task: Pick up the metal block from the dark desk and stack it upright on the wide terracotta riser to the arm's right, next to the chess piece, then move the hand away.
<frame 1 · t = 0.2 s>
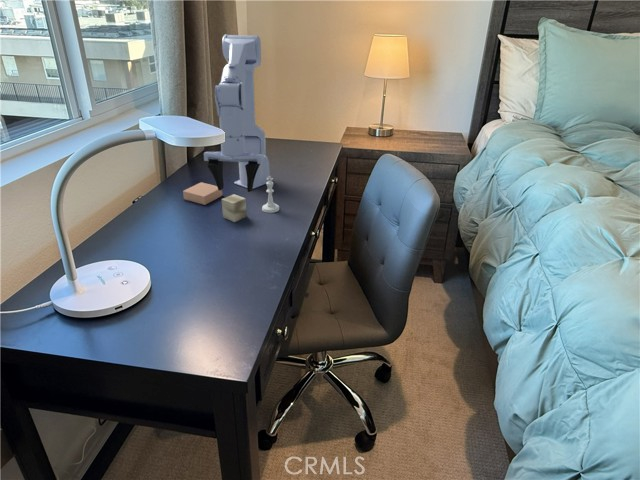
hand: (235, 190, 113), 10 cm above the table, tool pointing down, fingers open, 7 cm apart
terracotta riser: (203, 198, 134), on the table
metal block: (235, 217, 123), on the table
chess piece: (270, 209, 127), on the table
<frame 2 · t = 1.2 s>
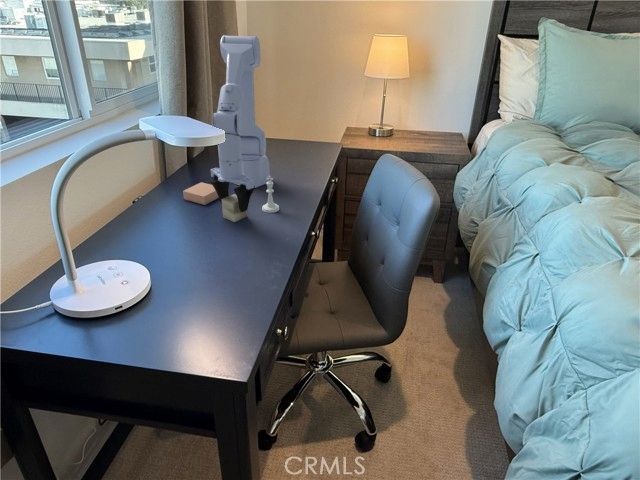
hand: (234, 206, 121), 3 cm above the table, tool pointing down, fingers open, 7 cm apart
nothing on the table moved.
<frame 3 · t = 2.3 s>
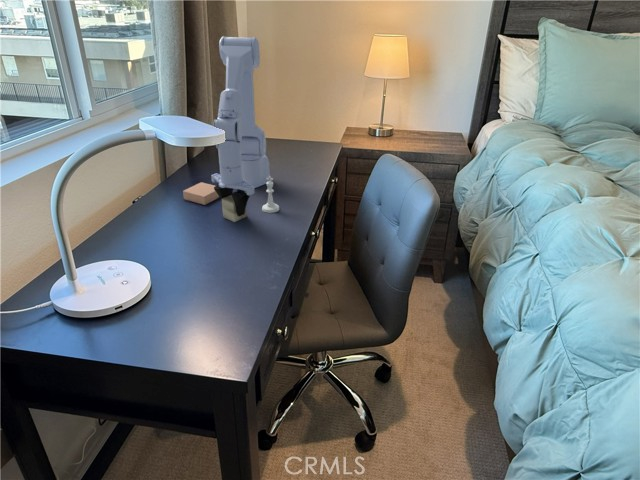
hand: (234, 212, 122), 1 cm above the table, tool pointing down, fingers closed on metal block, 4 cm apart
metal block: (234, 216, 122), on the table, touching gripper
everything else where it was.
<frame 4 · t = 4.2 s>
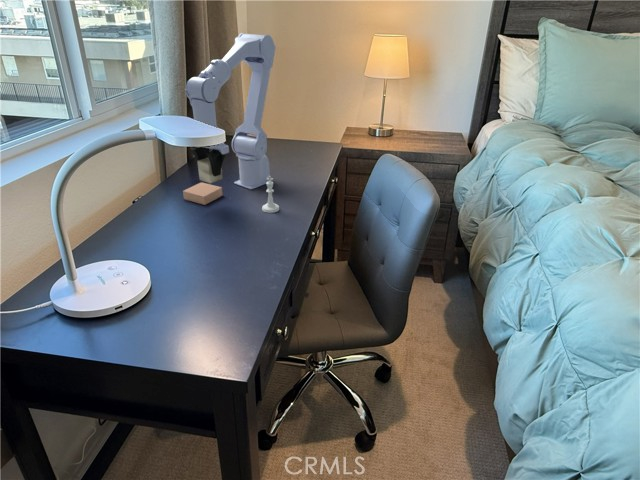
hand: (210, 173, 125), 9 cm above the table, tool pointing down, fingers closed on metal block, 4 cm apart
metal block: (211, 179, 126), point 8 cm above the table, touching gripper
everything else where it was.
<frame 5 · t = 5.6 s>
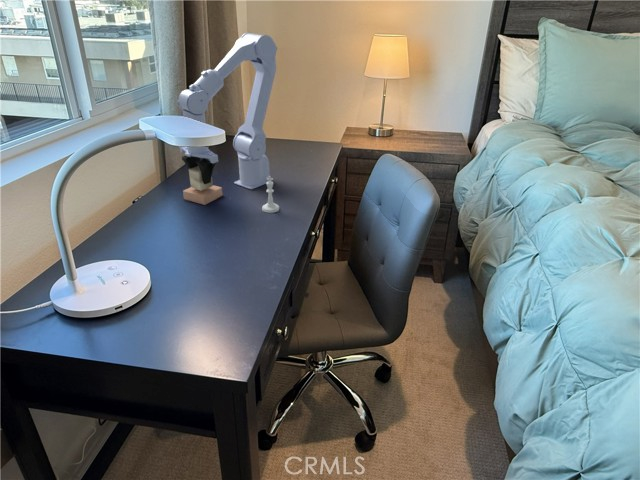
hand: (201, 180, 131), 5 cm above the table, tool pointing down, fingers closed on metal block, 4 cm apart
metal block: (201, 186, 132), point 3 cm above the table, touching gripper
everything else where it was.
when the fingers open (5 cm above the table, at t = 6.3 s): metal block stays where it is, point 3 cm above the table.
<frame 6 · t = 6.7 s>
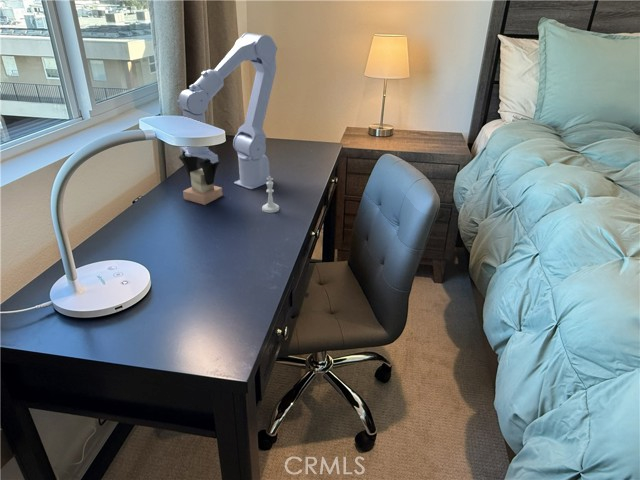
hand: (201, 180, 131), 5 cm above the table, tool pointing down, fingers open, 7 cm apart
metal block: (203, 189, 132), point 3 cm above the table
everything else where it was.
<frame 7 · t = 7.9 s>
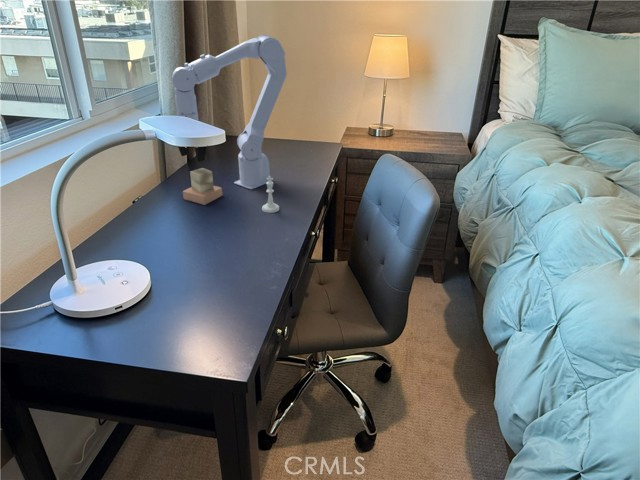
hand: (192, 157, 134), 10 cm above the table, tool pointing down, fingers open, 7 cm apart
terracotta riser: (203, 198, 134), on the table, touching metal block
metal block: (202, 189, 133), point 3 cm above the table, touching terracotta riser
everything else where it was.
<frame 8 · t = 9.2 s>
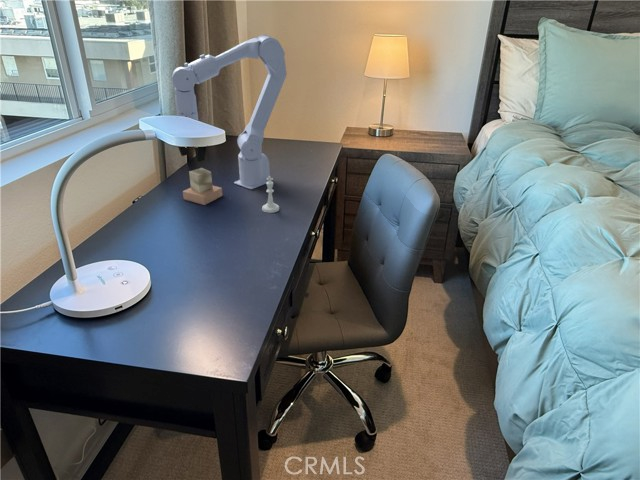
hand: (192, 157, 134), 10 cm above the table, tool pointing down, fingers open, 7 cm apart
nothing on the table moved.
at the end: metal block 0.2 cm off-centre on the terracotta riser, point 3.0 cm above the terracotta riser's base; metal block tilted 0°; the gripper is holding nothing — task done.
